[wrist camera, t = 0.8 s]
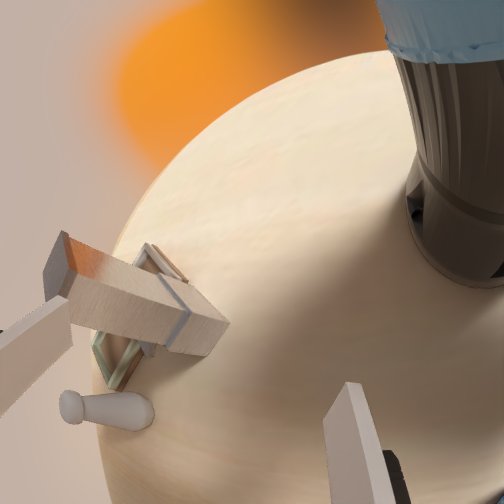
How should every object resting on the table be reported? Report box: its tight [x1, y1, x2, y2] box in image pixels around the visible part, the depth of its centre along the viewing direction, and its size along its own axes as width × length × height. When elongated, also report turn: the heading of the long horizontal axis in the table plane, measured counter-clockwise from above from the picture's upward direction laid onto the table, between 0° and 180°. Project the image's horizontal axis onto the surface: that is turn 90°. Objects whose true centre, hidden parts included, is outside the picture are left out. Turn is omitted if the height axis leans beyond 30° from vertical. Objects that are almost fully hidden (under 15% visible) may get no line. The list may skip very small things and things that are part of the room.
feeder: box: [43, 231, 230, 358], centre depth 26 cm, size 8×8×19 cm
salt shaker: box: [59, 390, 155, 431], centre depth 28 cm, size 6×6×13 cm
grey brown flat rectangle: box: [91, 243, 188, 392], centre depth 40 cm, size 22×11×2 cm, turn 138°
